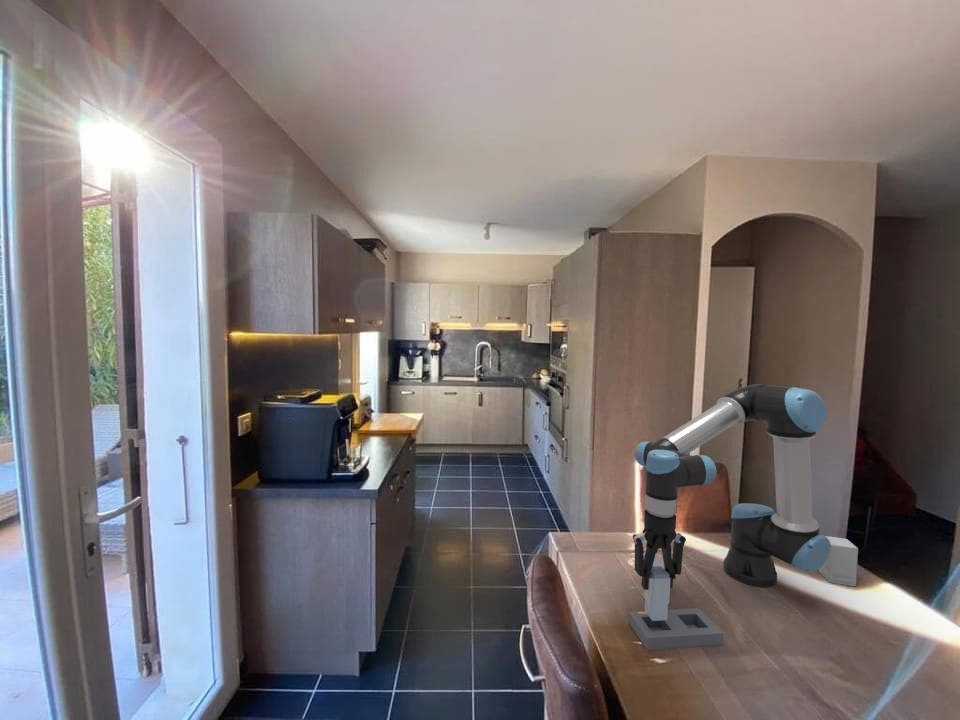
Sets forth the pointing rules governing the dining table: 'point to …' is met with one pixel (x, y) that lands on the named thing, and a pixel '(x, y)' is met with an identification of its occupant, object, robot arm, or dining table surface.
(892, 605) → the dining table surface
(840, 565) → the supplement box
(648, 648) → the panel
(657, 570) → the plug
